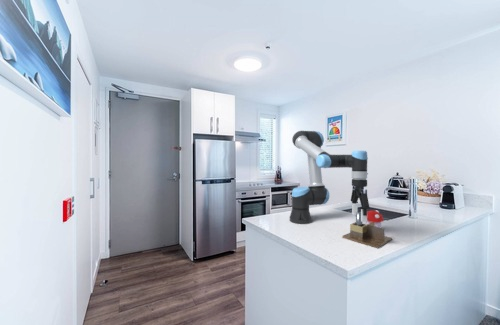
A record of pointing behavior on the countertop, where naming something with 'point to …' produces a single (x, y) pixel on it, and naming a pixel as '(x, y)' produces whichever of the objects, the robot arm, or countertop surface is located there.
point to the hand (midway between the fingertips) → (359, 218)
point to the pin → (358, 219)
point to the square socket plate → (367, 235)
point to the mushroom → (374, 218)
